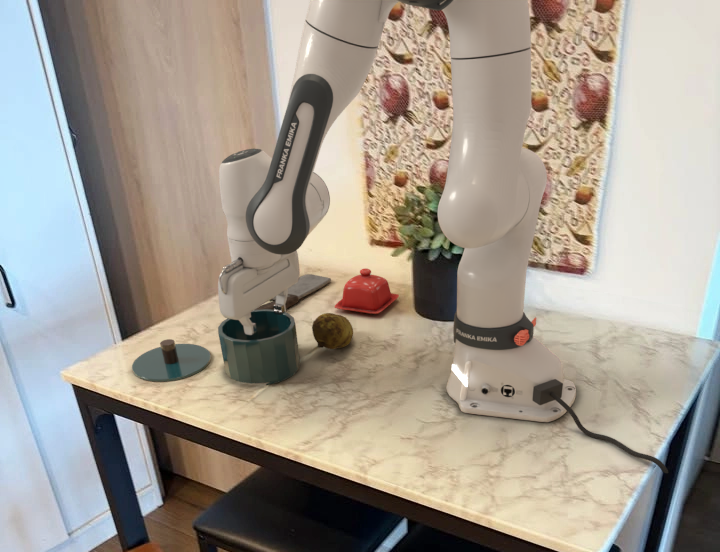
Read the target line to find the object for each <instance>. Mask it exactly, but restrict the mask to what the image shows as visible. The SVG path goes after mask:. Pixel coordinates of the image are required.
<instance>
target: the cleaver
mask: <svg viewBox="0 0 720 552" xmlns="http://www.w3.org/2000/svg"><path fill="white" fill-rule="evenodd" d="M330 282H332V278H331V277H327V276H322V275H316V274H312V273H311V274H309V273H308V274H304V275H301V276H299V279H298V282H297V283H295V284H294V285H292V286H291V287H289V288H288V296H287V300H286V303H285V306H286V309H289V308H290V307H292V306H294V305H296V304H297V303H299V300H301V299H303V298H305V297H306V296H308V295H310V294H312V293H314V292H316V291H317V290H319V289H321V288H323V287H324V286H326V285H327V284H329V283H330ZM271 300H273V301H270V302H266V303H264V304H263V305H261V306H260V307H258V308H256V309H255V310H263V309H270V310H274V307H273V305H274V304H276V296H275V297H274V298H272V299H271Z"/></svg>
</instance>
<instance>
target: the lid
mask: <svg viewBox="0 0 720 552" xmlns="http://www.w3.org/2000/svg"><path fill="white" fill-rule="evenodd" d="M159 345H160V346H158V347H156V348H153V349H150V350H148V351H146V352H144V353H142V354H140V355H139V356H138V357H137V358H135V360H134V361H133V363H132V365H131V370H132V373H133V374H134V375H135V376H136V377H137V378H138V379H141V380H144V381H147V382H153V383H155V382H158V383H161V382H165V383H166V382H173V381H174V382H175V381H178V380H183V379H186V378H189V377H192V376H194V375H196V374H198V373H200V372H202V371H203V370H204V369H205V368H207V367H208V365H210V363H211V360H212V356H211V352H210V351H209V350H208V349H207V348H206V347H204V346H201V345H199V344H194V343H176V341H175V340H174V339H172V338H171V339H170V338H169V339H164V340H161V341H160V343H159Z"/></svg>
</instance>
